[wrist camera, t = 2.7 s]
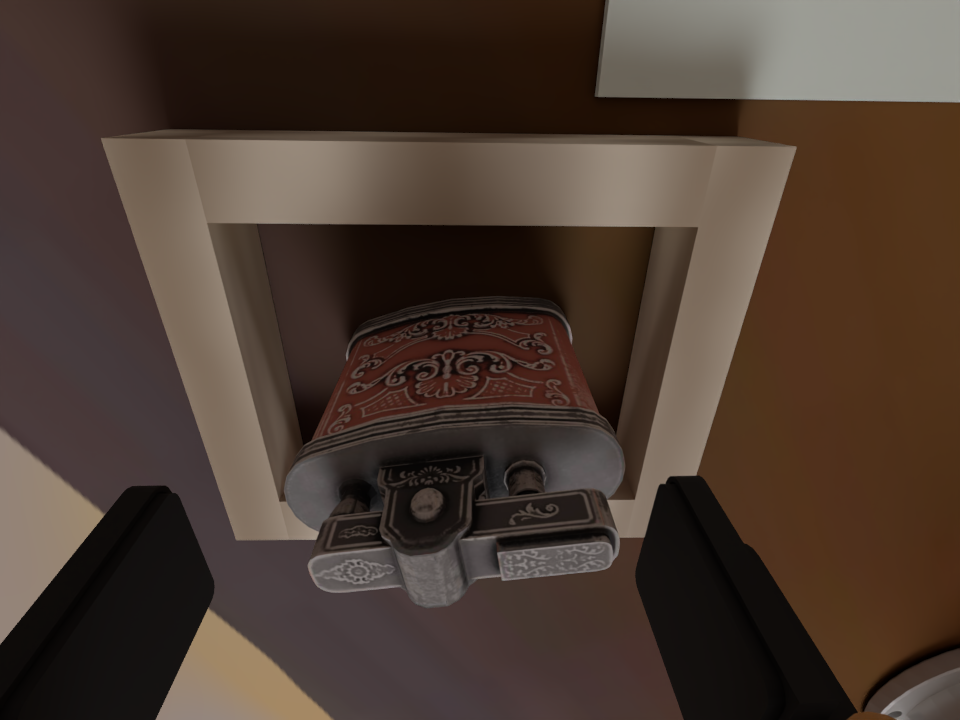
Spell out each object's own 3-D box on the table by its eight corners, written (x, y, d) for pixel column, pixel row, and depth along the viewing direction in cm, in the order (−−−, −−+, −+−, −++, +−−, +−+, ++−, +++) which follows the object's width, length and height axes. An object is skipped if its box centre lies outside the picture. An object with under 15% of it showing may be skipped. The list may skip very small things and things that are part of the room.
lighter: (363, 392, 19) (273, 652, 10) (340, 313, 17) (209, 542, 9) (569, 367, 19) (659, 613, 10) (565, 283, 17) (669, 492, 8)
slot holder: (737, 136, 15) (796, 146, 12) (651, 482, 21) (677, 537, 19) (168, 129, 14) (100, 138, 12) (265, 484, 21) (236, 540, 18)
